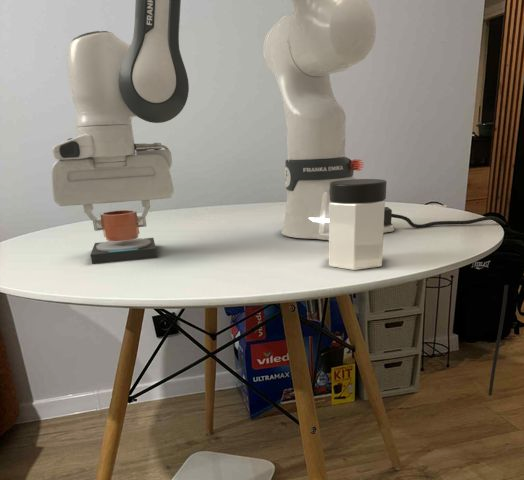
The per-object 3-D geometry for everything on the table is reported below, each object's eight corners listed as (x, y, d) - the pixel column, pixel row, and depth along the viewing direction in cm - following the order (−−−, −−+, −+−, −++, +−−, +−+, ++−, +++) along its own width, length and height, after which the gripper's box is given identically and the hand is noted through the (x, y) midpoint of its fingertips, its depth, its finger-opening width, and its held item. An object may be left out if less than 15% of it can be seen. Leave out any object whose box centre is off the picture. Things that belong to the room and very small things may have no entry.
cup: (139, 233, 94) (136, 209, 92) (140, 239, 88) (136, 213, 87) (105, 236, 93) (101, 211, 91) (103, 242, 87) (99, 216, 85)
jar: (368, 254, 82) (371, 177, 77) (395, 265, 75) (400, 181, 70) (318, 261, 80) (318, 181, 75) (340, 272, 72) (341, 185, 68)
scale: (154, 245, 98) (153, 235, 97) (156, 257, 88) (155, 246, 87) (96, 251, 96) (94, 240, 95) (92, 263, 86) (89, 252, 85)
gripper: (168, 142, 89) (177, 220, 95) (47, 148, 85) (64, 230, 91) (171, 142, 84) (180, 225, 89) (41, 148, 80) (59, 236, 85)
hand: (120, 228), depth 90 cm, fingers closed on cup, 6 cm apart
